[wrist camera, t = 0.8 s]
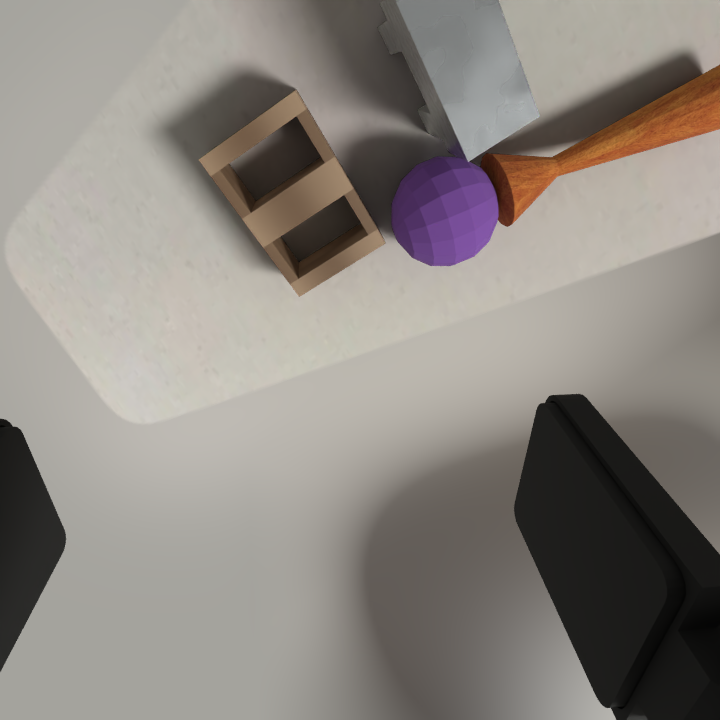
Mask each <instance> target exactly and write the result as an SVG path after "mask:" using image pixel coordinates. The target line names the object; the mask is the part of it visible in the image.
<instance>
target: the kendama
mask: <svg viewBox="0 0 720 720" xmlns="http://www.w3.org/2000/svg"><path fill="white" fill-rule="evenodd" d="M718 129H720V65H719V66H717V67H715V68H713V69H711V70H709V71H708V72H706V73H704V74H702V75H700V76H699V77H697V78H695V79H693V80H691V81H690V82H688V83H686V84H684V85H682V86H680V87H679V88H677V89H675V90H673V91H671V92H670V93H668V94H666V95H664V96H662V97H661V98H659V99H657V100H655V101H653V102H651V103H650V104H648V105H646V106H644V107H642V108H641V109H639V110H637V111H635V112H633V113H631V114H630V115H628V116H626V117H624V118H622V119H621V120H619V121H617V122H615V123H613V124H612V125H610V126H608V127H606V128H604V129H602V130H601V131H599V132H597V133H595V134H593V135H592V136H590V137H588V138H586V139H584V140H582V141H581V142H579V143H577V144H575V145H573V146H572V147H570V148H568V149H566V150H564V151H563V152H561V153H559V154H557V155H555V156H553V157H537V156H521V155H504V154H488V153H486V154H485V155H484V156H483V157H482V161H481V166H480V167H479V166H477V165H475V164H473V163H471V162H467V161H465V160H463V159H461V158H459V157H439V156H437V157H434V158H432V159H430V160H427V161H425V162H422V163H420V164H418V165H416V166H415V167H414V168H413V169H412V170H411V171H410V172H409V173H408V174H407V175H406V176H405V177H404V178H403V179H402V180H401V182H400V185H399V187H398V189H397V192H396V194H395V196H394V199H393V201H392V204H391V224H392V229H393V232H394V235H395V237H396V239H397V241H398V243H399V244H400V245H401V246H402V247H403V248H404V249H405V250H406V251H407V252H408V253H409V255H410V256H411V257H412V258H414V259H416V260H418V261H421V262H423V263H425V264H428V265H430V266H452V265H455V264H457V263H459V262H462V261H464V260H467V259H469V258H471V257H474V256H475V255H476V254H477V253H478V252H479V251H480V250H481V249H482V248H483V247H484V246H485V245H486V244H487V243H488V242H489V240H490V238H491V235H492V233H493V231H494V228H495V226H496V223H497V220H499V222H500V223H501V224H503V225H505V226H507V227H508V226H510V225H512V224H513V223H514V222H515V221H516V220H517V218H518V217H519V216H520V215H521V214H522V213H523V212H524V211H525V210H526V209H527V208H528V207H529V206H530V205H531V204H532V203H533V202H534V201H535V199H536V198H537V197H538V196H539V195H540V194H541V193H542V192H543V191H544V190H545V189H546V188H547V187H548V186H549V185H550V184H551V183H552V181H553V180H554V179H555V178H556V177H557V176H560V175H564V174H567V173H571V172H574V171H577V170H581V169H584V168H588V167H591V166H595V165H598V164H601V163H605V162H608V161H612V160H615V159H619V158H622V157H625V156H629V155H632V154H636V153H639V152H643V151H646V150H649V149H653V148H656V147H660V146H663V145H667V144H670V143H673V142H677V141H680V140H684V139H687V138H691V137H694V136H698V135H701V134H704V133H708V132H711V131H715V130H718Z"/></svg>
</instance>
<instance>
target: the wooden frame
mask: <svg viewBox="0 0 720 720" xmlns="http://www.w3.org/2000/svg"><path fill="white" fill-rule="evenodd" d="M296 116H297V118H298V119H299V121H300V123H301V124H302V126H303V128H304V129H305V131H306V132H307V134H308V136H309V137H310V139H311V141H312V142H313V144H314V146H315V147H316V149H317V151H318V152H319V154H320V156H321V157H320V158H319V159H317V160H316V161H314V162H313V163H312V164H310V165H309V166H307V167H306V168H304V169H303V170H301V171H300V172H298V173H297V174H295V175H294V176H292V177H291V178H289V179H288V180H286V181H285V182H283V183H282V184H281V185H279V186H278V187H276V188H275V189H273V190H272V191H270V192H269V193H267V194H266V195H264V196H263V197H261V198H260V199H258V200H257V201H255V199H254V198H253V197H252V195H251V194H250V192H249V191H248V190H247V188H246V187H245V185H244V184H243V182H242V181H241V180H240V178H239V177H238V175H237V174H236V173H235V171H234V170H233V168H232V167H231V165H230V164H229V163H231V162H232V161H233V160H235V159H236V158H238V157H239V156H240V155H242V154H243V153H245V152H246V151H248V150H249V149H250V148H252V147H253V146H255V145H256V144H258V143H259V142H260V141H262V140H263V139H265V138H266V137H267V136H269V135H270V134H272V133H273V132H275V131H276V130H277V129H279V128H280V127H282V126H283V125H285V124H286V123H287V122H289V121H290V120H292V119H293V118H294V117H296ZM199 161H200V163H201V164H202V165H203V167H204V168H205V169H206V171H207V172H208V173H209V175H210V176H211V178H212V179H213V180H214V182H215V183H216V184H217V186H218V187H219V188H220V190H221V191H222V192H223V194H224V195H225V197H226V198H227V199H228V201H229V202H230V203H231V205H232V206H233V207H234V209H235V210H236V211H237V213H238V214H239V216H240V217H241V218H242V220H243V221H244V222H245V224H246V225H247V226H248V228H249V229H250V231H251V232H252V233H253V235H254V236H255V237H256V239H257V240H258V241H259V243H260V244H261V245H262V247H263V248H264V250H265V251H266V252H267V254H268V255H269V256H270V258H271V259H272V260H273V262H274V263H275V264H276V266H277V267H278V269H279V270H280V271H281V273H282V274H283V275H284V277H285V278H286V279H287V281H288V282H289V283H290V285H291V286H292V288H293V289H294V290H295V292H296V293H297V294H298V296H299V297H300V296H301V295H303V294H305V293H306V292H308V291H309V290H311V289H313V288H314V287H316V286H317V285H319V284H321V283H322V282H324V281H326V280H327V279H329V278H330V277H332V276H334V275H335V274H337V273H338V272H340V271H342V270H343V269H345V268H346V267H348V266H350V265H351V264H353V263H355V262H356V261H358V260H359V259H361V258H363V257H364V256H366V255H367V254H369V253H371V252H372V251H374V250H376V249H377V248H379V247H380V246H382V245H384V244H385V241H384V239H383V237H382V235H381V233H380V231H379V229H378V227H377V226H376V224H375V222H374V220H373V219H372V217H371V215H370V214H369V212H368V210H367V209H366V207H365V205H364V203H363V202H362V200H361V198H360V197H359V195H358V193H357V192H356V190H355V188H354V186H353V185H352V183H351V181H350V180H349V178H348V176H347V175H346V173H345V171H344V169H343V168H342V166H341V164H340V163H339V161H338V159H337V158H336V156H335V154H334V152H333V151H332V149H331V147H330V146H329V144H328V142H327V141H326V139H325V137H324V135H323V134H322V132H321V130H320V129H319V127H318V125H317V124H316V122H315V120H314V118H313V117H312V115H311V113H310V112H309V110H308V108H307V107H306V105H305V103H304V101H303V100H302V98H301V96H300V95H299V93H298V91H297V90H295V91H294V92H292V93H291V94H289V95H288V96H287V97H285V98H284V99H282V100H281V101H280V102H278V103H277V104H275V105H274V106H273V107H271V108H270V109H268V110H267V111H266V112H264V113H263V114H261V115H260V116H259V117H257V118H256V119H254V120H253V121H252V122H250V123H249V124H247V125H246V126H245V127H243V128H242V129H240V130H239V131H238V132H236V133H235V134H233V135H232V136H231V137H229V138H228V139H226V140H225V141H224V142H222V143H221V144H219V145H218V146H217V147H215V148H214V149H213V150H211V151H210V152H208V153H207V154H206V155H204V156H203V157H202V158H200V159H199ZM343 195H345V197H346V199H347V200H348V202H349V204H350V205H351V207H352V209H353V210H354V212H355V214H356V215H357V217H358V219H359V220H360V222H361V223H360V224H359V225H357V226H356V227H354V228H352V229H351V230H349V231H348V232H346V233H345V234H343V235H341V236H340V237H338V238H337V239H335V240H334V241H332V242H330V243H329V244H327V245H326V246H324V247H323V248H321V249H319V250H318V251H316V252H315V253H313V254H312V255H310V256H308V257H307V258H305V259H304V260H302V261H300V262H298V260H297V259H296V258H295V256H294V255H293V253H292V252H291V250H290V249H289V248H288V246H287V245H286V243H285V242H284V241H283V239H282V238H281V236H282V235H284V234H285V233H287V232H288V231H290V230H291V229H293V228H294V227H296V226H297V225H299V224H300V223H302V222H303V221H305V220H307V219H308V218H310V217H311V216H313V215H314V214H316V213H317V212H319V211H320V210H322V209H323V208H325V207H326V206H328V205H329V204H331V203H333V202H334V201H336V200H337V199H339V198H340V197H342V196H343Z"/></svg>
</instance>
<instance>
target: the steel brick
mask: <svg viewBox="0 0 720 720" xmlns="http://www.w3.org/2000/svg"><path fill="white" fill-rule="evenodd" d="M380 6H381V8H382V10H383V12H384V15H385V17H386V19H387V21H386V22H384V23H383V24H381V25H380V26H379V27H377V28H378V30H379V32H380V34H381V36H382V38H383V40H384V42H385V44H386V47H387V49H388V51H389V53H390V55H391V54H394V53H398V52H401V51H402V53H403V55H404V57H405V60H406V62H407V64H408V66H409V68H410V70H411V72H412V75H413V77H414V79H415V81H416V83H417V85H418V87H419V90H420V92H421V94H422V96H423V98H424V100H425V102H426V105H424V106H423V107H421V108H420V109H418V110H417V111H418V113H419V115H420V118H421V120H422V122H423V124H424V126H425V128H426V130H427V132H428V134H431V135H433V136H435V137H438V138H440V139H442V140H443V141H444V143H445V145H446V147H447V149H448V152H449V153H451V154H453V155H455V156H457V157H459V158H461V159H463V160H465V161H467V162H469V161H470V160H472V159H473V158H475V157H477V156H478V155H480V154H481V153H483V152H485V151H486V150H488V149H489V148H491V147H492V146H494V145H496V144H497V143H499V142H500V141H502V140H503V139H505V138H507V137H508V136H510V135H511V134H513V133H515V132H516V131H518V130H519V129H521V128H522V127H524V126H526V125H527V124H529V123H530V122H532V121H534V120H535V119H537V118H538V117H540V115H539V112H538V109H537V107H536V104H535V101H534V98H533V95H532V93H531V90H530V87H529V84H528V81H527V79H526V76H525V73H524V70H523V67H522V65H521V62H520V59H519V56H518V53H517V51H516V48H515V45H514V42H513V39H512V37H511V34H510V31H509V28H508V25H507V23H506V20H505V17H504V14H503V11H502V9H501V6H500V3H499V0H383V1H382V2H381V3H380Z"/></svg>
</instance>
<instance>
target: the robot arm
mask: <svg viewBox="0 0 720 720" xmlns="http://www.w3.org/2000/svg"><path fill="white" fill-rule="evenodd" d="M514 512H515V518H516V522H517V524H518V527H519V529H520V531H521V533H522V535H523V538H524V540H525V542H526V544H527V546H528V548H529V551H530V553H531V555H532V557H533V559H534V561H535V564H536V566H537V568H538V570H539V573H540V575H541V577H542V579H543V581H544V583H545V586H546V588H547V590H548V592H549V594H550V597H551V599H552V601H553V603H554V605H555V607H556V609H557V612H558V614H559V616H560V618H561V621H562V623H563V625H564V627H565V629H566V631H567V633H568V636H569V638H570V640H571V642H572V645H573V647H574V649H575V651H576V653H577V656H578V658H579V660H580V662H581V664H582V666H583V669H584V671H585V673H586V675H587V677H588V680H589V682H590V684H591V686H592V688H593V691H594V693H595V695H596V697H597V698H598V700H599V701H600V703H601V704H602V705H603V706H604V707H606V708H611V709H612V711H613V713H614V715H615V717H616V720H720V554H719V553H718V552H717V551H716V550H715V548H714V547H713V546H712V545H711V544H710V542H709V541H708V540H707V539H706V538H705V537H704V535H703V534H702V533H701V532H700V531H699V530H698V528H697V527H696V526H695V525H694V524H693V523H692V521H691V520H690V519H689V518H688V517H687V515H686V514H685V513H684V512H683V511H682V510H681V508H680V507H679V506H678V505H677V504H676V503H675V502H674V500H673V499H672V498H671V497H670V496H669V494H668V493H667V492H666V491H665V490H664V489H663V487H662V486H661V485H660V484H659V483H658V481H657V480H656V479H655V478H654V477H653V476H652V474H651V473H649V471H648V470H647V469H646V468H645V466H644V465H643V464H642V463H641V461H640V460H639V459H638V458H637V457H636V456H635V454H634V453H633V452H632V451H631V450H630V449H629V447H628V446H627V445H626V444H625V443H624V442H623V440H622V439H621V438H620V437H619V436H618V434H617V433H616V432H615V431H614V430H613V429H612V427H611V426H610V425H609V424H608V423H607V422H606V420H605V419H604V418H603V417H602V416H601V415H600V413H599V412H598V411H597V410H596V409H595V408H594V406H593V405H592V404H591V403H590V402H589V401H588V399H587V398H586V397H585V396H583V395H581V394H570V395H551V396H549V397H548V399H547V400H546V402H545V403H541V404H539V406H538V407H537V410H536V415H535V419H534V423H533V428H532V432H531V436H530V440H529V445H528V449H527V453H526V457H525V462H524V466H523V470H522V474H521V479H520V483H519V487H518V492H517V496H516V500H515V506H514ZM65 543H66V534H65V530H64V528H63V526H62V523H61V521H60V519H59V517H58V514H57V512H56V509H55V507H54V505H53V502H52V500H51V498H50V495H49V493H48V491H47V488H46V486H45V484H44V482H43V479H42V477H41V475H40V472H39V470H38V468H37V465H36V463H35V461H34V458H33V456H32V454H31V451H30V449H29V447H28V444H27V442H26V440H25V438H24V435H23V433H22V432H21V430H20V429H19V428H18V427H13V426H12V425H11V423H10V422H8V421H7V420H4V419H0V671H1V670H2V668H3V665H4V664H5V662H6V660H7V658H8V656H9V654H10V652H11V650H12V649H13V647H14V645H15V643H16V641H17V639H18V637H19V635H20V633H21V631H22V629H23V628H24V626H25V624H26V622H27V620H28V618H29V616H30V614H31V612H32V610H33V608H34V607H35V605H36V603H37V601H38V599H39V597H40V595H41V593H42V591H43V589H44V587H45V586H46V584H47V581H48V580H49V578H50V576H51V574H52V572H53V570H54V568H55V567H56V564H57V563H58V561H59V559H60V557H61V555H62V553H63V551H64V547H65Z"/></svg>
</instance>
